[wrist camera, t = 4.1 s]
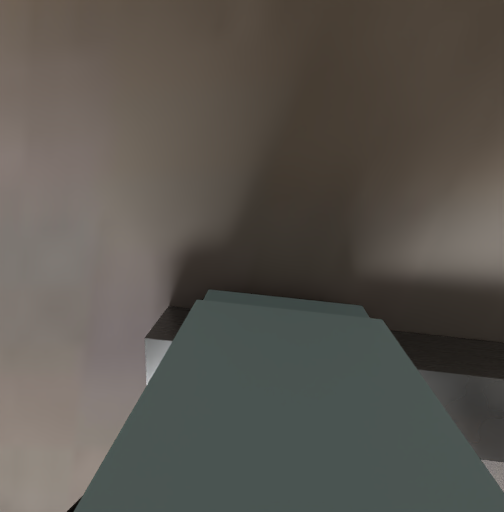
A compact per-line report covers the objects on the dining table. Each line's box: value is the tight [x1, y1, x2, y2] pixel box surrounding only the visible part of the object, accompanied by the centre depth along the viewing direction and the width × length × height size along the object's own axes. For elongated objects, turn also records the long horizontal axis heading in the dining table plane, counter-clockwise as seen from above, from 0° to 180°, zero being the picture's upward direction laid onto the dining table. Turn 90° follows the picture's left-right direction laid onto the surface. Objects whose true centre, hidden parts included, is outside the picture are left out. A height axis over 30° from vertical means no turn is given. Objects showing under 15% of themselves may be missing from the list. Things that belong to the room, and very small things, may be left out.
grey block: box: [74, 290, 504, 512], centre depth 7 cm, size 5×6×7 cm
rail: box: [145, 306, 504, 462], centre depth 9 cm, size 16×3×4 cm, turn 86°
